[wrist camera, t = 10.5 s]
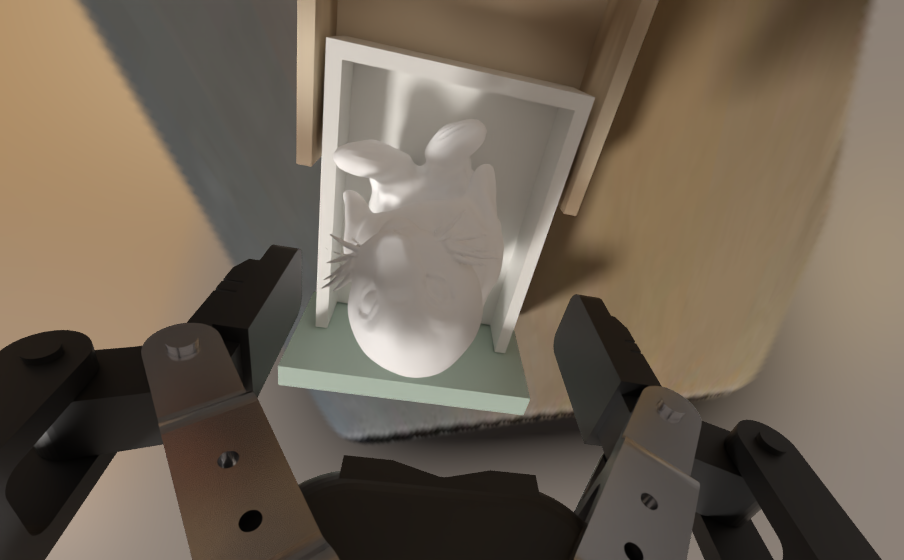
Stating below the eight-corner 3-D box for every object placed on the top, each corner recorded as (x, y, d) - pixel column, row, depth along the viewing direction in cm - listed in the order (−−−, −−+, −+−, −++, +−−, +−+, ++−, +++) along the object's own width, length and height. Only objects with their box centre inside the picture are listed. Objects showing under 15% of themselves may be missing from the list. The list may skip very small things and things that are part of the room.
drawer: (507, 336, 26) (523, 415, 21) (313, 307, 25) (278, 384, 19) (591, 91, 19) (650, 117, 13) (322, 30, 17) (270, 32, 12)
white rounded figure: (392, 286, 23) (351, 492, 13) (343, 129, 19) (223, 255, 8) (504, 266, 23) (555, 466, 12) (482, 101, 18) (532, 199, 8)
